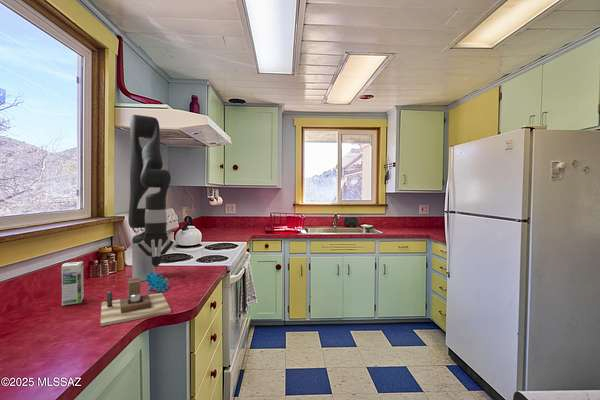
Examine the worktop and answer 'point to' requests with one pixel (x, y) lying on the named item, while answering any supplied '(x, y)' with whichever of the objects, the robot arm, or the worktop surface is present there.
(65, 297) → the syrup box
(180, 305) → the worktop surface
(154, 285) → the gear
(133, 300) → the post
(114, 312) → the board
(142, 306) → the wooden display stand
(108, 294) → the stop pin
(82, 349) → the worktop surface
